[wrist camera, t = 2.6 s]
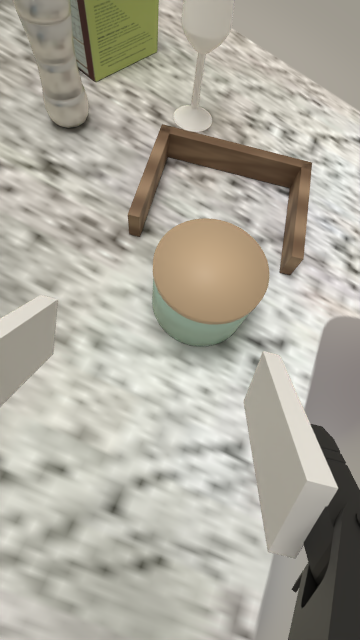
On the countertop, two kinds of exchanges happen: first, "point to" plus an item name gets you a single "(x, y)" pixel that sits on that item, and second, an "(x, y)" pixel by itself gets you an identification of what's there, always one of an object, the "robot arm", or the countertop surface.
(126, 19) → the protein box
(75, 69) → the plastic bottle
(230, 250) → the green canister
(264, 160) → the walnut bay
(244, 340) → the countertop surface
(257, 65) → the countertop surface
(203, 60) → the champagne flute
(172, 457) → the countertop surface
